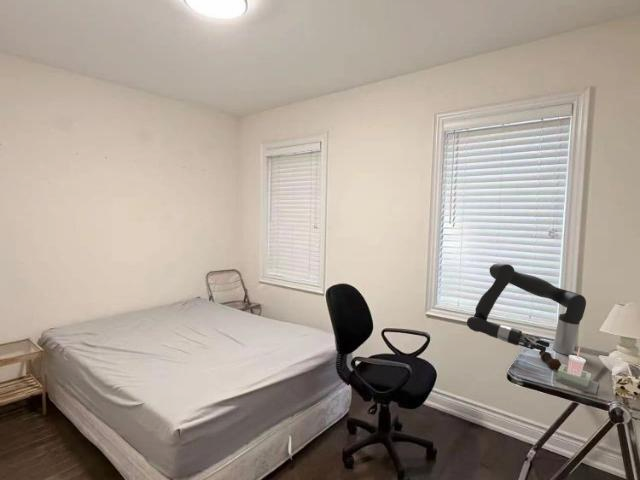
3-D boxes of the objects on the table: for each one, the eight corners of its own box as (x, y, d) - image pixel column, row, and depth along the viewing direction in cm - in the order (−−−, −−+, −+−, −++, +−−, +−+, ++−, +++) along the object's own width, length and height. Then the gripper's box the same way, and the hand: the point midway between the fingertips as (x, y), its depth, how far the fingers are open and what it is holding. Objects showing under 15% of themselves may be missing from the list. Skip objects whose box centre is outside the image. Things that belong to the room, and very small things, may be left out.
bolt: (542, 360, 176) (555, 373, 162) (534, 354, 177) (546, 366, 163) (550, 352, 175) (564, 364, 161) (542, 345, 176) (554, 357, 162)
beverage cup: (585, 380, 150) (591, 350, 148) (574, 380, 148) (580, 350, 147) (572, 373, 156) (578, 344, 154) (561, 373, 154) (567, 344, 153)
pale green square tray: (560, 371, 161) (562, 362, 161) (598, 384, 152) (600, 375, 151) (555, 380, 151) (557, 371, 150) (595, 395, 141) (597, 385, 141)
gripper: (506, 330, 164) (546, 343, 153) (514, 325, 174) (551, 336, 163) (504, 345, 165) (543, 358, 154) (511, 339, 175) (548, 351, 164)
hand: (547, 347), depth 159 cm, fingers open, 8 cm apart
